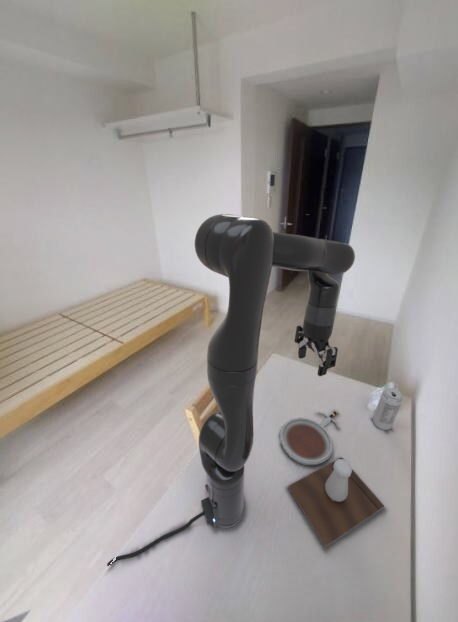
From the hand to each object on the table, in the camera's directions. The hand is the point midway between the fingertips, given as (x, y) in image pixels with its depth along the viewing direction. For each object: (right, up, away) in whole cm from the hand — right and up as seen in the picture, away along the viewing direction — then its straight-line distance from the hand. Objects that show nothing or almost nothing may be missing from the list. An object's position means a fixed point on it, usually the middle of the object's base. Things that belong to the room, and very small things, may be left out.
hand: (311, 365), depth 78 cm
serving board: (+5, -36, -4) cm, 37 cm away
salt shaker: (+5, -35, -4) cm, 35 cm away
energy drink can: (+30, -24, +18) cm, 43 cm away
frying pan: (+6, -26, +15) cm, 31 cm away
